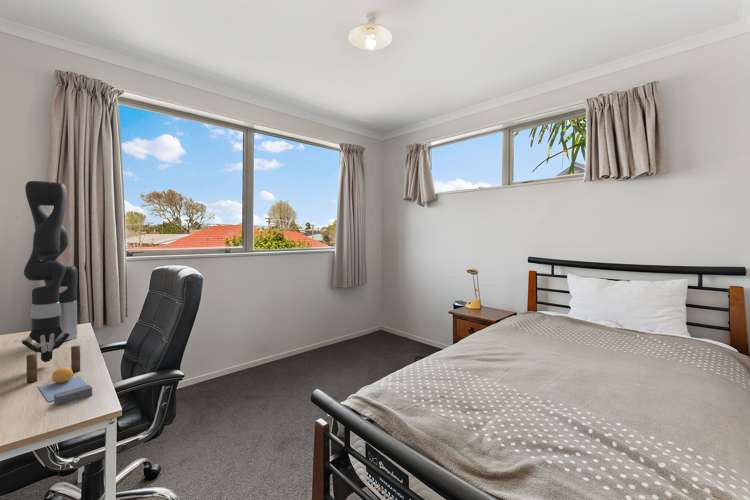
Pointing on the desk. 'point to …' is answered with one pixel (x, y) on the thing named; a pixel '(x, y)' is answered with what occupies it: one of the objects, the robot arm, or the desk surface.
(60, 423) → the desk surface
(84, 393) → the stopper wall
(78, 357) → the post
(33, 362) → the post
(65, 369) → the ball
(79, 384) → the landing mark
